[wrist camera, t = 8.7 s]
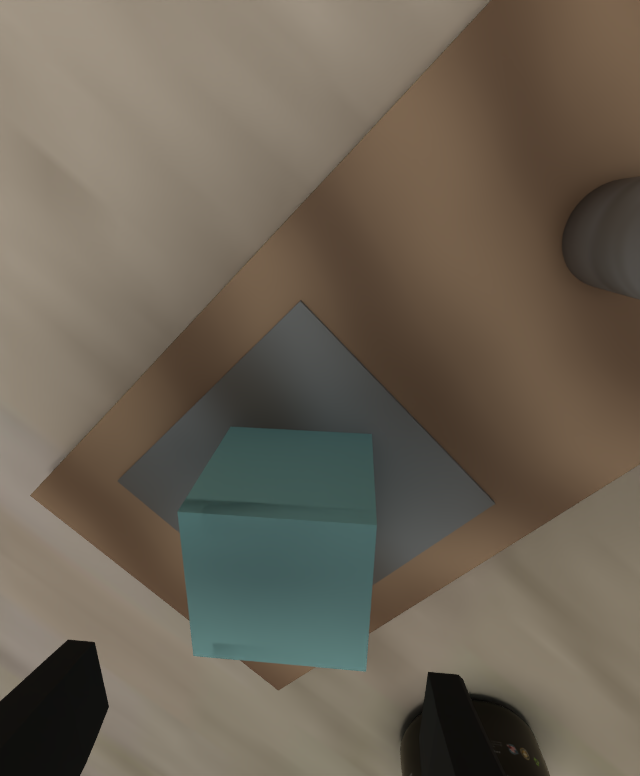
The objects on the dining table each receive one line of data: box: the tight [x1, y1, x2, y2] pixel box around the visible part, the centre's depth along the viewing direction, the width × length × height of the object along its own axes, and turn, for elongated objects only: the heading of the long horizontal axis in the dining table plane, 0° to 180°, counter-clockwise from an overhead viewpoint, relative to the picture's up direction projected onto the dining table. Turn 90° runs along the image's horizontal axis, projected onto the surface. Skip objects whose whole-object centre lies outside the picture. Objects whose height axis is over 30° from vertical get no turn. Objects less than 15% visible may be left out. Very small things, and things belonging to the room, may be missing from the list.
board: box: [30, 0, 640, 690], centre depth 14 cm, size 30×14×5 cm, turn 134°
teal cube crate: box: [177, 427, 377, 671], centre depth 14 cm, size 5×5×5 cm
